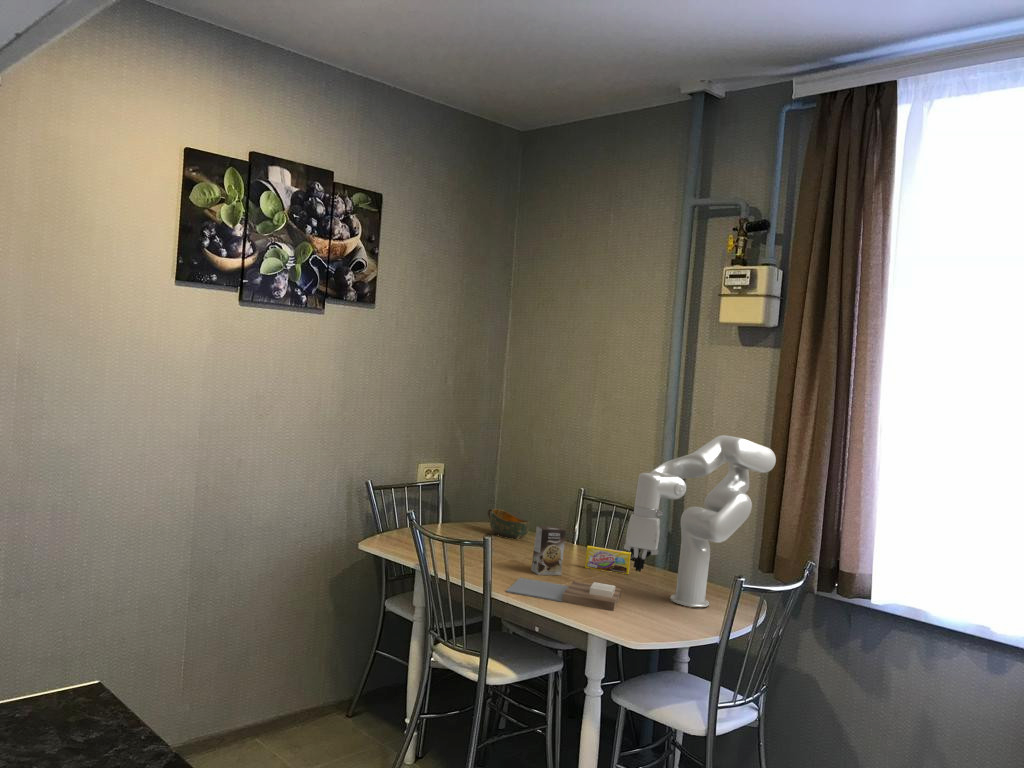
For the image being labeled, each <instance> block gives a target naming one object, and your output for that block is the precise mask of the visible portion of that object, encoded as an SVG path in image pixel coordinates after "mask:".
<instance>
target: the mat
mask: <svg viewBox="0 0 1024 768" xmlns="http://www.w3.org/2000/svg"><path fill="white" fill-rule="evenodd" d="M569 586H570V585H567V584H566V585H565V584H559V583H556V582H555V583H554V582H549V581H542V580H537V579H531V578H524V577H519V578H518V579H517V580H516V581H515V582H513V584H512V585H510V587H508V588H507V590H505V592H506V593H508V594H513V595H521V596H526V597H531V598H537V599H543V600H548V601H554V602H559V603H563V602H562V599H563V593H564V592H565V591H566V589H567V588H568V587H569Z"/></svg>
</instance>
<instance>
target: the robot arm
mask: <svg viewBox="0 0 1024 768" xmlns="http://www.w3.org/2000/svg"><path fill="white" fill-rule="evenodd" d="M776 458H777V457H776V454H775V452H774V451H773V450H772V449H771V448H770V447H767V446H764V445H762V444H759V443H756V442H754V441H752V440H749V439H745V438H744V437H743V438H742V437H738V436H730V435H725V434H724V435H718V436H716V437H714V438H713V439H711V440H709V441H708V442H706V443H705V444H704V445H703V446H701V447H699V448H698V449H697V450H695V451H694V452H692V453H690V454H686V455H683V456H680V457H676V458H674V459H673V458H672V459H671V460H670V459H669V460H668V461H665V462H663V463H661V464H660V465H658V466H657V467H655V468H654V469H652V471H650V472H641V473H640V474H638V475H639V476H638V480H637V485H636V494H635V500H634V509H633V514H631V515H630V517H629V521H628V523H627V530H626V535H625V543H624V546H623V549H624V550H626V551H627V552H630V553H631V555H632V556H633V557H634V562H633V568H634V570H635V572H639V573H640V572H642V570H644V568H645V567H644V566H645V559H647V558H648V557H649V556H656V555H658V554H659V550H658V549H659V543H660V534H661V519H660V518H659V517H660V516H661V517H663V515H664V512H663V511H661V510H660V504H661V503H660V501H661V498H663V499H664V498H665V499H669V500H679V499H681V498H683V497H684V495H685V494H686V492H687V484H686V481H685V480H683V479H696V478H703V477H706V476H708V475H710V474H712V472H714V471H715V470H717V469H718V468H720V467H721V466H723V465H724V464H726V463H728V471H727V473H726V476H724V477H723V479H722V480H721V481H719V483H717V485H715V487H714V488H712V489H711V491H709V493H708V494H707V495H706V497H705V498H704V501H703V502H704V507H701V506H690V507H688V508H685V510H684V511H683V512H682V513H681V517H680V532H681V536H680V537H681V538H680V539H681V542H680V543H681V544H680V552H679V553H680V554H679V559H678V570H677V579H676V588H675V593H674V594H672V595H670V597H669V599H671V600H670V601H671V602H672V601H673V602H675V603H678V604H681V605H685V606H691V607H706V606H708V605H709V606H710V602H709V600H707V599H706V594H707V593H706V592H707V585H708V584H707V583H708V575H709V567H710V566H709V565H710V558H711V546H710V542H711V543H716V544H718V543H719V544H720V543H723V542H725V541H727V540H728V539H729V538H730V537H731V536H732V535H733V534H734V533H735V532H736V531H737V530H738V529H739V528H740V527H741V526H742V525H743V524H744V523H745V522H746V521H747V520H748V518H749V516H750V515H751V512H752V508H753V503H752V500H751V498H750V496H749V495H748V494H747V492H748V491H749V489H750V475H749V473H750V472H749V471H753V472H758V473H761V474H762V473H763V474H764V473H769V472H770V471H772V470H773V469H774V467H775V465H776V463H777V459H776ZM639 550H642V554H641V555H639V554H640V553H639ZM673 602H672V603H673ZM675 603H674V604H675ZM678 604H677V605H678ZM681 605H680V606H681ZM685 606H684V607H685ZM691 607H690V608H691Z"/></svg>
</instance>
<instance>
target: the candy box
mask: <svg viewBox="0 0 1024 768" xmlns="http://www.w3.org/2000/svg"><path fill="white" fill-rule="evenodd" d="M631 555H632V553H631V551H624V550H623V551H622V550H616V549H611V548H605V547H599V546H594V545H593V546H592V545H587V546H586V555H585V562H584V563H585V564H584V569H588V568H591V569H590V570H594V569H598V570H597V571H600V570H604V571H603V572H606V571H612V572H617V573H616V574H618V573H624V574H630V564H631ZM612 572H611V573H612ZM624 574H623V575H624Z"/></svg>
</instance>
